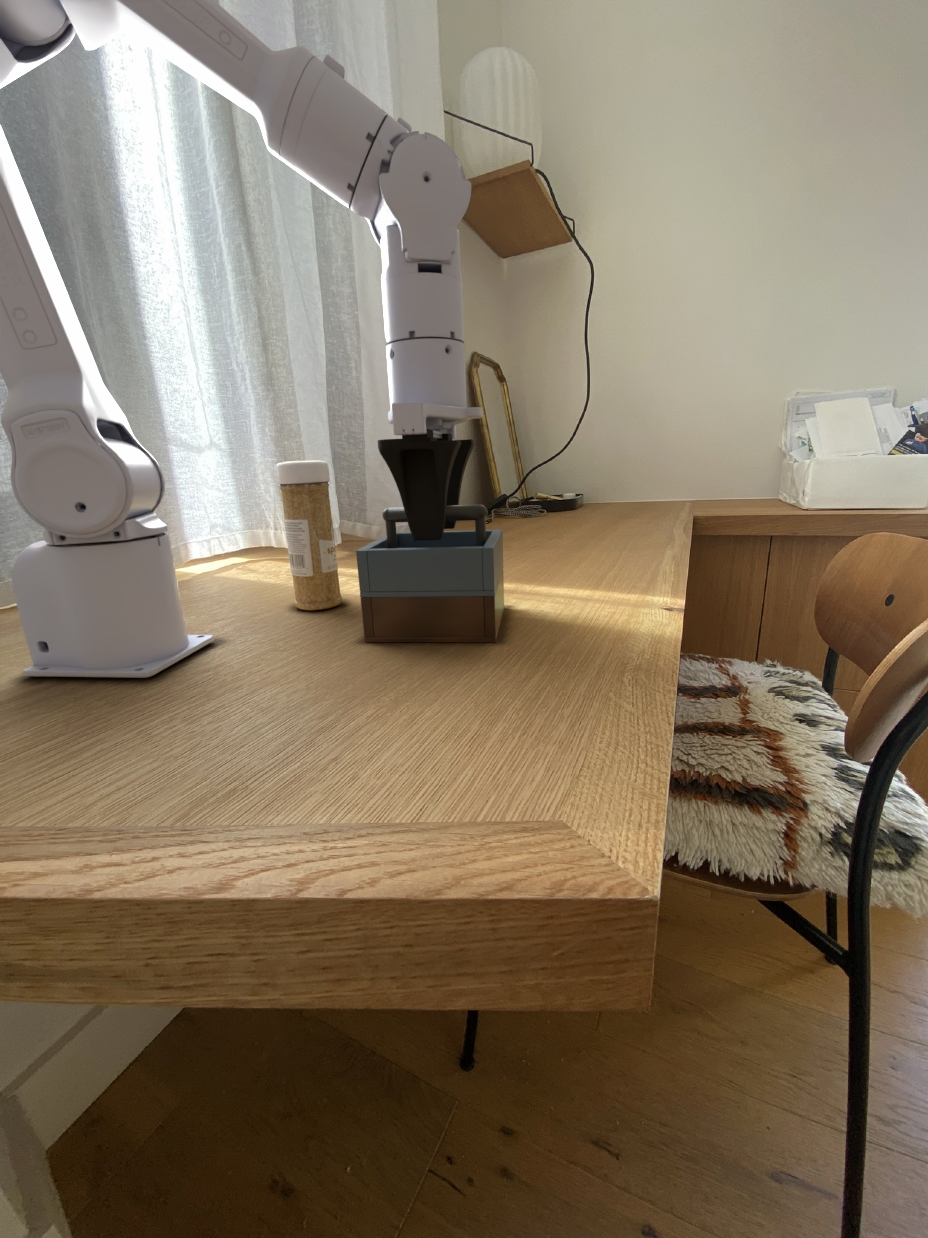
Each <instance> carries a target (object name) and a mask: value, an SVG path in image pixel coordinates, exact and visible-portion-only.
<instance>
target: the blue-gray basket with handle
mask: <svg viewBox="0 0 928 1238" xmlns="http://www.w3.org/2000/svg"><path fill="white" fill-rule="evenodd" d="M488 513H489V512H488V508H487V507H486V506H485V505H484V504H459V505H448V506H446V518H445V521H456V522H465V521H474V527H475V529H473V530H471V529H469V530H468V529H467V530H444V532H443V536H442V539H441V540H418V541H414V540H413V537H412V535H411V532H410V531H400V532H399V531H397V523H408V522H407V518H406V514H405V510H404V507H403V506H388V507H386V508H384V510H383V511H382V519H383V520H384V522H385V533H386V535H383V536H382V537H380V538H378V539H376V540H374V541H372V542H370V543H368V544H366V545H364V546H362V547H361V548H358V549H357V550H356V551H355V554H356V565H357V566H356V567H357V576H358V588H359V597H360V598H361V597H454V596H495V593H496V590H497V587H498V584H499V581H500V578H501V574H502V571H503V572H504V538H503V537H504V536H503V535H504V533H503V532H504V531H503V530H504V529H486V518H487V516H488Z"/></svg>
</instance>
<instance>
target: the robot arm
mask: <svg viewBox="0 0 928 1238" xmlns="http://www.w3.org/2000/svg"><path fill="white" fill-rule="evenodd" d="M121 34H127V35H128V36H131V37H132V38H134V39H135V40H137V41H139V42H140V43H141V44H143V45H145V46H147V47H148V48H149V49H151V50H152V51H154V52H155V53H156V54H158V55H160V56H162V57H163V58H165V59H166V60H167V61H169V62H171V63H172V64H173V65H175V66H177V67H178V68H180V69H181V70H183V71H184V72H186V73H187V74H189V75H191V76H192V77H193V78H195V79H197V80H198V81H200V82H201V83H203V84H204V85H206V86H207V87H209V88H210V89H212V90H213V91H215V92H216V93H218V94H219V95H221V96H223V97H225V98H226V99H227V100H229V101H230V102H232V103H233V104H235V105H237V106H238V107H239V108H241V109H243V110H244V111H246V112H247V113H249V114H250V115H252V116H253V117H254V118H255V119H256V121H257V123H258V125H259V128H260V132H261V134H262V138H263V141H264V143H265V146H266V148H267V151H268V152H269V153H270V154H271V155H273V156H274V157H275V158H277V159H278V160H280V162H282V163H284V164H285V165H287V166H288V167H289V168H291V169H292V170H294V171H295V172H297V173H298V174H299V175H301V176H302V177H304V178H305V179H307V180H308V181H309V182H310V183H312V184H313V185H315V186H316V187H318V188H319V189H320V190H322V191H323V192H325V193H326V194H327V195H329V196H330V197H331V198H333V199H334V200H336V201H337V202H339V203H340V204H341V205H343V206H344V207H346V208H347V209H348V210H350V211H351V212H353V213H354V214H355V215H357V216H359V217H362V218H364V219H365V221H367V223H368V225H369V229H370V231H371V234H372V236H373V238H374V240H375V242H376V244H377V245H378V246H379V248H380V252H381V266H382V273H381V275H380V287H381V300H382V313H383V326H384V327H383V328H384V338H385V339H384V340H385V354H386V355H385V356H386V368H387V369H386V370H387V380H388V382H387V383H388V395H389V397H388V398H389V409H390V410H389V411H388V412H387V418H388V419H387V421H388V424H390V425H392V427H393V436H401V438H385V439H378V440H377V449H378V452H379V454H380V455H381V457H382V460H383V461H384V462H385V464H386V465H387V467H388V469H389V471H390V474H391V475H392V478H393V480H394V483H395V485H396V488H397V490H398V493H399V497H400V499H401V503H402V507H404V510H405V514H406V518H407V522H406V523H407V525H408V529H409V532H411V535H412V537H413V540H414V541H418V540H441V539H442V536H443V532H444V531H445V530H452V529H453V530H454V529H455V527H456V524H457V521H445V518H446V506H448V505H460V497H461V491H462V490H461V489H462V484H463V478H464V476H465V471H466V468H467V465H468V461H469V459H470V457H471V454H472V452H473V450H474V448H475V447H474V446H475V440H474V439H469V438H468V439H458V438H457V425H460V424H463V423H465V422H468V421H470V420H474V419H476V420H477V419H483V417H484V414H483V413H484V411H483V410H484V409H483V408H482V407H480V406H473V407H472V406H471V407H470V406H469V407H467V403H468V402H467V379H466V377H467V376H466V355H465V354H466V353H465V352H466V351H465V326H464V324H465V323H464V322H465V321H464V299H463V298H464V297H463V273H462V270H461V250H460V249H461V248H460V245H461V244H460V230H459V229H458V228H457V227H458V225H459V224H460V222H461V221H462V219H463V217H464V216H465V214H466V212H467V210H468V208H469V206H470V205H469V204H470V201H471V196H472V182H471V181H470V180H467V179H466V174H465V171H464V168H463V165H460V163H459V157H458V156H457V154H456V153H455V151H454V150H453V148H452V147H451V146H450V145H449V144H448V143H446V142H445V140H443V139H442V138H440V137H439V136H437V135H435V134H432V133H431V132H427V131H424V133H420V131H419V130H414V131H413V127H412V125H411V124H409V123H408V122H407V121H406V120H404V119H403V118H402V117H401V116H399V117H398V118H397V120H396V119H395V118H394V117H393V116H391V115H390V114H389V113H387V112H386V111H385V110H384V109H383V108H381V107H380V106H379V105H377V103H375V102H374V101H372V100H371V99H370V98H369V97H367V96H366V95H365V94H364V93H362V91H360V90H359V89H357V88H356V87H355V86H354V85H352V84H351V83H350V82H349V81H347V80H346V79H345V76H346V75H345V73H346V69H345V66H343V65H342V64H341V63H340V62H338V61H337V60H336V59H334V57H332V56H331V55H329V54H326V55H324V58H323V61H322V60H321V59H320V58H318V56H316V55H314V54H313V53H312V52H311V51H310V50H308V49H307V48H306V47H305V46H293V47H289V48H285V49H279V50H273V49H272V48H270V47H269V46H268V45H266V44H265V43H264V42H263V41H262V40H261V39H260V38H258V37H257V36H256V35H255V34H254V33H252V31H250V30H249V29H248V28H247V27H246V26H245V25H243V24H242V23H241V22H240V21H239V20H237V19H236V18H235V17H234V16H233V15H232V14H230V13H229V11H228V10H226V9H225V8H224V7H222V6H221V5H220V4H219V3H218V2H217V1H215V0H0V89H2V88H3V87H6V86H7V85H9V84H11V83H12V82H14V81H15V80H17V79H18V78H20V77H21V76H24V75H25V74H27V73H29V72H30V71H32V70H33V69H35V68H37V67H39V66H40V65H42V64H44V63H45V62H47V61H48V60H50V59H51V58H53V57H55V56H56V55H58V54H59V53H61V52H62V51H63V50H64V49H66V47H68V46H69V45H70V44H71V42H72V41H73V39H74V38H75V36H76V35H77V37H78V38H79V40H80V42H81V44H82V46H83V47H84V50H85V51H95V50H97V49H98V48H100V47H101V46H103V45H105V44H106V43H108V42H109V41H111V40H113V39H115V38H116V37H118V36H119V35H121ZM76 313H77V312H76V311H75V308H74V305H73V303H72V301H71V298H70V295H69V293H68V290H67V288H66V286H65V283H64V280H63V278H62V276H61V272H60V270H59V268H58V266H57V263H56V261H55V258H54V256H53V253H52V251H51V248H50V246H49V243H48V241H47V238H46V236H45V232H44V231H43V227H42V226H41V223H40V220H39V218H38V215H37V213H36V210H35V208H34V205H33V203H32V200H31V197H30V195H29V193H28V190H27V188H26V185H25V183H24V180H23V178H22V176H21V173H20V170H19V167H18V165H17V163H16V161H15V158H14V155H13V153H12V150H11V148H10V145H9V143H8V140H7V138H6V135H5V132H4V130H3V128H2V125H1V124H0V375H1V378H2V379H3V381H4V384H5V386H6V388H7V396H6V399H5V402H4V405H3V408H2V411H1V415H0V424H1V426H2V429H3V431H4V433H5V435H6V438H7V439H8V443H9V446H10V450H11V466H10V467H11V468H10V483H11V485H10V486H11V488H12V492H13V496H14V497H15V499H16V501H17V503H18V505H19V506H20V508H21V509H22V511H23V512H24V513H25V514H26V515H27V516H28V517H29V518H30V520H32V521H33V522H34V523H36V524H37V525H39V526H40V527H42V528H43V529H44V530H43V532H42V535H43V536H42V537H43V539H44V540H40V541H36V542H33V543H32V544H31V543H30V544H29V545H28V546H26V547H25V548H24V549H23V550H21V551H20V552H19V554H18V555H17V557H16V558H15V560H14V562H13V563H14V564H13V567H12V570H11V587H12V592H13V595H14V599H15V604H16V607H17V611H18V614H19V618H20V621H21V625H22V626H21V627H22V629H23V632H24V636H25V640H26V644H27V648H28V651H29V655H30V658H31V663H32V665H30V666H28V667H26V668H24V669H23V670H22V673H23V676H24V677H43V678H44V677H48V678H51V677H52V678H53V677H54V678H55V677H56V678H57V677H58V678H124V679H125V678H126V679H128V678H129V679H131V678H132V679H133V678H134V679H135V678H136V679H137V678H138V679H144V678H145V679H146V678H150V677H153V676H155V675H157V674H158V673H160V672H163V670H165V669H167V668H169V667H171V666H172V665H175V664H176V663H178V662H180V661H182V660H183V659H184V658H185V659H186V657H188V656H190V655H191V654H194V653H195V652H197V651H198V650H200V649H202V648H204V647H206V646H208V645H209V644H211V643H212V642H214V641H215V635H213V634H188V630H187V625H186V619H185V618H186V617H185V614H184V608H183V604H182V598H181V592H180V587H179V582H178V577H177V571H176V566H175V561H174V556H173V551H172V550H173V549H172V545H171V540H170V534H169V532H168V531H169V530H168V529H169V528H168V524H166V523H165V522H164V521H162V520H161V519H160V518H159V516H158V514H157V513H156V511H157V510H158V509H159V507H160V506H161V504H162V503H163V500H164V498H165V492H166V481H165V476H164V475H165V474H164V472H163V470H162V468H161V466H160V464H159V462H158V461H157V459H156V458H155V457H154V456H153V454H151V453H150V451H148V450H147V449H146V448H145V447H144V446H143V445H142V444H141V443H140V442H139V441H138V439H137V438H136V436H135V435H134V433H133V430H132V429H131V426H130V423H129V421H128V419H127V417H126V414H125V413H124V412H123V410H122V409H121V407H120V406H119V404H118V403H117V402H116V400H115V398H114V397H113V396H112V394H111V392H110V391H109V389H108V388H107V387H106V385H105V383H104V381H103V379H102V376H101V374H100V371H99V368H98V366H97V363H96V361H95V359H94V356H93V353H92V351H91V348H90V345H89V343H88V341H87V338H86V336H85V333H84V331H83V328H82V326H81V323H80V321H79V318H78V316H77V314H76Z"/></svg>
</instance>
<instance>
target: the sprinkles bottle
mask: <svg viewBox="0 0 928 1238" xmlns="http://www.w3.org/2000/svg"><path fill="white" fill-rule="evenodd" d="M275 470H276V479H277V483H278V484H279V485H280V486H279V490H280V491H281V502H282V510H283V516H284V518H283V522H284V529H285V530H284V531H285V537H286V538H285V539H286V544H287V545H286V546H287V551H288V552H287V553H288V559H289V566H290V573H291V576H292V583H293V589H294V607H296V608H297V609H299V610H304V611H320V610H327V609H331V608H334V607H336V606H339V605H341V603H342V602H343V596H342V594H341V588H340V580H339V579H340V578H339V573H338V572H339V571H338V570H339V565H338V557H337V549H336V548H337V547H336V540H335V539H336V538H335V531H334V521H333V517H332V510H331V509H332V507H331V499H330V490H329V486H330V484H329V482H330V480H331V478H330V469H329V463H328V462H327V461H326V460H319V459H315V460H314V459H313V460H290V461H289V460H288V461H282V462H277V464H276V465H275Z"/></svg>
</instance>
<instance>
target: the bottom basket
mask: <svg viewBox="0 0 928 1238" xmlns="http://www.w3.org/2000/svg"><path fill="white" fill-rule="evenodd" d="M504 581H505V580H504V570H503V571H502V574H501V578H500V581H499V584H498V587H497V590H496V593H495V596H454V597H360V606H361V617H362V627H363V636H364V637H363V639H364V643H497V638H498V636H499V630H500V626H501V622H502V618H503V614H504V609H505V585H504V584H505V582H504Z"/></svg>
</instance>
